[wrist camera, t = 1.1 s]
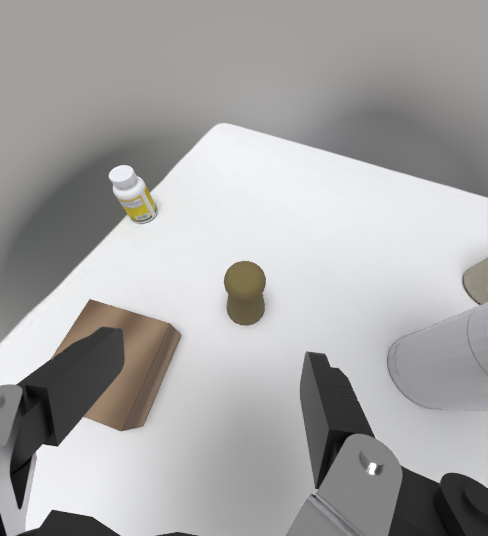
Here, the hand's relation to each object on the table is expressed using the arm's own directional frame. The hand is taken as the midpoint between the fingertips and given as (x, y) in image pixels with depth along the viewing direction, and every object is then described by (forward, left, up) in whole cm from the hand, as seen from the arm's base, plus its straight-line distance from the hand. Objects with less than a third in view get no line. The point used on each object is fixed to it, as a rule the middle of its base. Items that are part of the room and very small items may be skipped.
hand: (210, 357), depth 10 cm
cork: (+2, -11, -26) cm, 28 cm away
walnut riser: (+16, +2, -25) cm, 30 cm away
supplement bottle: (+27, -24, -26) cm, 45 cm away
